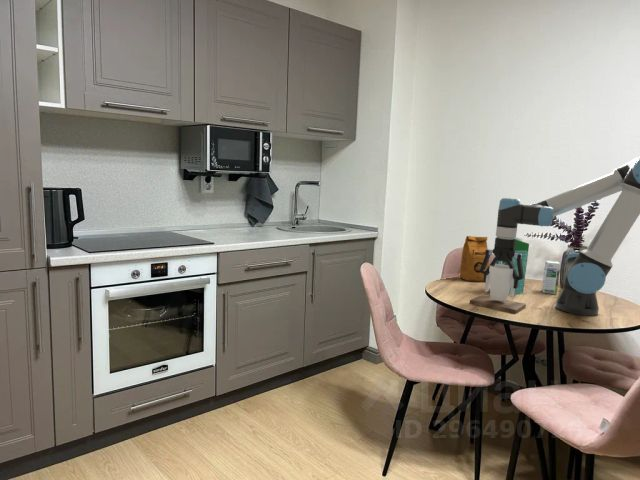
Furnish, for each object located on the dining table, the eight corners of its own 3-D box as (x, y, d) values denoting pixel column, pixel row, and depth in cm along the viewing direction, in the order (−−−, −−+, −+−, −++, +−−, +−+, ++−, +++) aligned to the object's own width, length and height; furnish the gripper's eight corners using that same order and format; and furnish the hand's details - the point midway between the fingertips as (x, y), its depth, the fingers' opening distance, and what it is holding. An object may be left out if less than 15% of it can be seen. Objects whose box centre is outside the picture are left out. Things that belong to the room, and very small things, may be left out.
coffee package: (489, 283, 236) (494, 238, 233) (464, 281, 235) (469, 237, 232) (481, 278, 246) (486, 235, 243) (457, 277, 245) (462, 234, 242)
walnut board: (525, 307, 194) (525, 303, 194) (515, 313, 184) (516, 310, 183) (481, 298, 205) (481, 294, 205) (469, 303, 195) (469, 299, 194)
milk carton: (523, 293, 218) (530, 238, 215) (507, 294, 215) (514, 238, 211) (508, 288, 227) (515, 235, 223) (493, 289, 223) (499, 235, 220)
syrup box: (543, 292, 222) (547, 261, 220) (541, 290, 228) (545, 259, 226) (556, 294, 220) (561, 263, 218) (555, 291, 226) (559, 261, 224)
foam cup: (484, 298, 192) (487, 266, 190) (488, 294, 200) (491, 263, 198) (509, 303, 188) (513, 270, 186) (512, 298, 196) (516, 266, 194)
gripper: (537, 240, 187) (530, 297, 190) (481, 233, 200) (475, 286, 203) (532, 242, 181) (525, 300, 184) (474, 234, 194) (468, 289, 197)
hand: (499, 293), depth 193 cm, fingers closed on foam cup, 9 cm apart
